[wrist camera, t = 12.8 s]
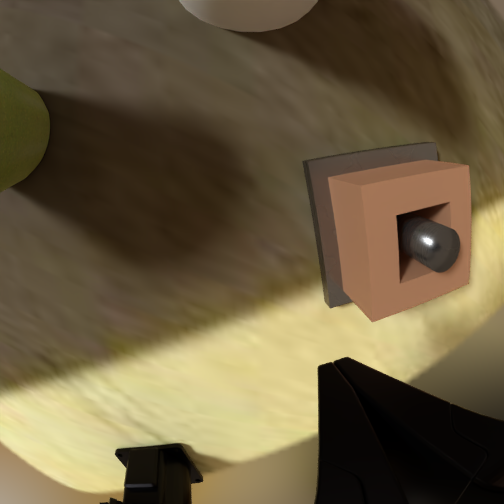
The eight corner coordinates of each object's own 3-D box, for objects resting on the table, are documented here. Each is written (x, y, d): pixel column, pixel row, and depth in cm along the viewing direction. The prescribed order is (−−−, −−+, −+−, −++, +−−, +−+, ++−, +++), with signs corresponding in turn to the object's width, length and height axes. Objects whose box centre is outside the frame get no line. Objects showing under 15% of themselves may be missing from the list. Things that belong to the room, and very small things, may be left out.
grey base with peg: (433, 265, 21) (492, 302, 15) (324, 301, 20) (367, 358, 14) (426, 142, 18) (497, 147, 12) (302, 161, 17) (351, 167, 11)
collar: (431, 261, 20) (468, 283, 16) (343, 290, 19) (372, 322, 15) (426, 159, 17) (468, 165, 13) (327, 177, 17) (360, 185, 13)
